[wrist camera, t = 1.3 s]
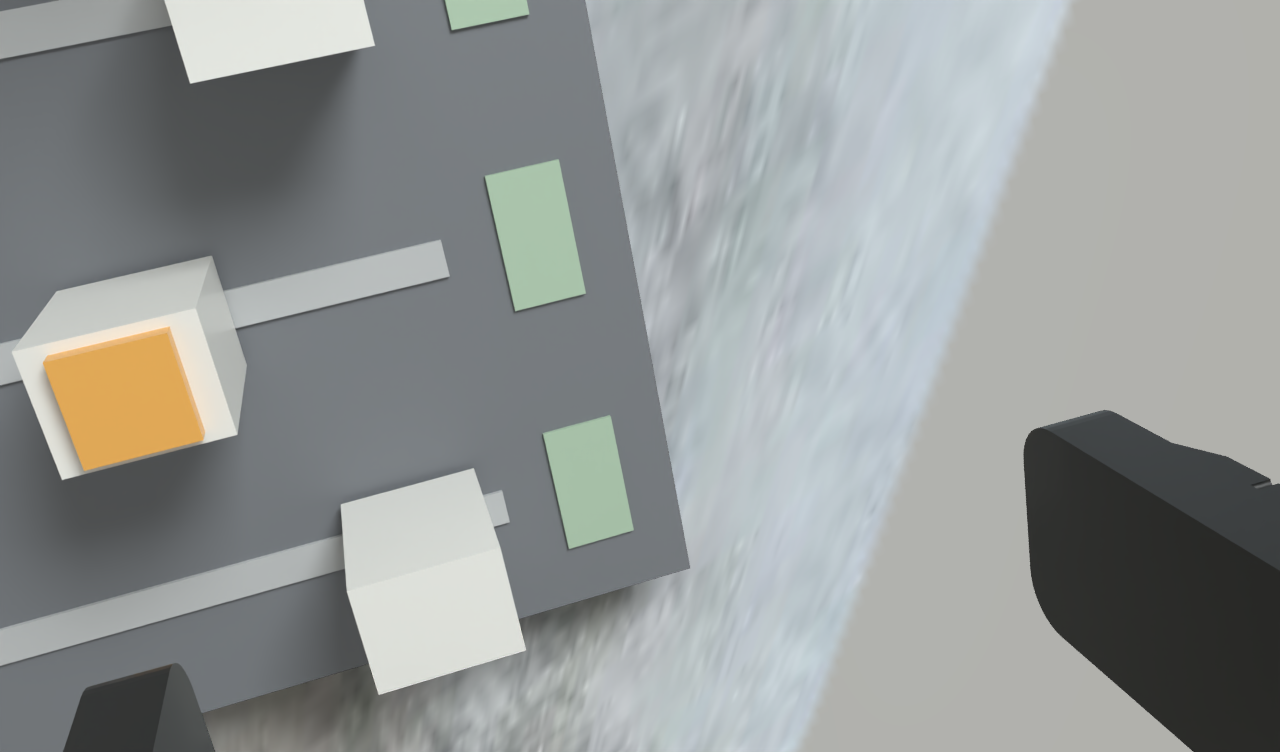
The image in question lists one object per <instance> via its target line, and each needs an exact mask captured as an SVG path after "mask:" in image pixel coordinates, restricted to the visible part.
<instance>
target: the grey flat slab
mask: <svg viewBox="0 0 1280 752" xmlns="http://www.w3.org/2000/svg"><path fill="white" fill-rule="evenodd" d="M364 4H365V8H366V12H367V16H368V20H369V24H370V28H371V32H372V36H373V40H374V44H375V46H371V47H366V48H361V49H357V50H352V51H347V52H342V53H337V54H332V55H327V56H322V57H318V58H313V59H308V60H303V61H298V62H293V63H288V64H283V65H279V66H274V67H269V68H264V69H259V70H254V71H249V72H244V73H239V74H235V75H230V76H225V77H220V78H215V79H210V80H205V81H200V82H196V83H191V84H190V82H189V78H188V75H187V72H186V69H185V65H184V62H183V59H182V56H181V52H180V49H179V46H178V43H177V39H176V36H175V33H174V30H173V27H172V23H171V20H170V17H169V14H168V10H167V7H166V4H165V1H164V0H0V752H63V750H64V747H65V744H66V741H67V738H68V735H69V732H70V729H71V726H72V723H73V720H74V717H75V714H76V711H77V707H78V704H79V701H80V698H81V696H82V693H83V691H84V690H85V689H86V688H87V687H89V686H93V685H96V684H100V683H104V682H107V681H111V680H115V679H118V678H122V677H126V676H129V675H133V674H137V673H140V672H144V671H147V670H151V669H155V668H158V667H162V666H166V665H169V664H173V663H178V664H179V665H181V666H182V668H183V669H184V671H185V672H186V674H187V676H188V678H189V680H190V682H191V685H192V688H193V690H194V693H195V696H196V699H197V702H198V704H199V707H200V710H201V713H204V712H208V711H211V710H214V709H218V708H221V707H224V706H228V705H231V704H235V703H238V702H241V701H245V700H248V699H251V698H255V697H258V696H262V695H265V694H268V693H272V692H275V691H278V690H282V689H285V688H288V687H292V686H295V685H299V684H302V683H305V682H309V681H312V680H315V679H319V678H322V677H326V676H329V675H332V674H336V673H339V672H342V671H346V670H349V669H352V668H356V667H359V666H363V665H366V664H369V662H368V659H367V655H366V652H365V649H364V646H363V642H362V639H361V636H360V633H359V630H358V626H357V623H356V620H355V617H354V613H353V610H352V607H351V604H350V600H349V597H348V594H347V588H346V574H345V559H344V545H343V531H342V517H341V504H344V503H347V502H351V501H355V500H358V499H362V498H366V497H369V496H373V495H377V494H380V493H384V492H388V491H392V490H395V489H399V488H403V487H406V486H410V485H414V484H417V483H421V482H425V481H428V480H432V479H436V478H439V477H443V476H447V475H450V474H454V473H458V472H461V471H465V470H469V469H472V468H474V470H475V473H476V476H477V479H478V482H479V485H480V488H481V491H482V494H483V497H484V500H485V503H486V506H487V509H488V512H489V515H490V518H491V521H492V524H493V527H494V530H495V533H496V536H497V539H498V542H499V545H500V548H501V552H502V556H503V560H504V564H505V568H506V572H507V576H508V580H509V584H510V588H511V592H512V596H513V600H514V604H515V608H516V612H517V616H518V619H521V618H524V617H528V616H531V615H534V614H538V613H541V612H544V611H548V610H551V609H555V608H558V607H561V606H565V605H568V604H571V603H575V602H578V601H581V600H585V599H588V598H592V597H595V596H598V595H602V594H605V593H608V592H612V591H615V590H619V589H622V588H625V587H629V586H632V585H635V584H639V583H642V582H645V581H649V580H652V579H656V578H659V577H662V576H666V575H669V574H672V573H676V572H679V571H682V570H686V569H689V568H690V565H689V559H688V554H687V549H686V543H685V538H684V532H683V527H682V522H681V516H680V511H679V505H678V500H677V495H676V489H675V484H674V478H673V473H672V468H671V462H670V457H669V451H668V446H667V441H666V435H665V430H664V424H663V419H662V414H661V408H660V403H659V397H658V392H657V387H656V381H655V376H654V370H653V365H652V359H651V354H650V349H649V343H648V338H647V332H646V327H645V322H644V316H643V311H642V305H641V300H640V295H639V289H638V284H637V278H636V273H635V268H634V262H633V257H632V251H631V246H630V241H629V235H628V230H627V224H626V219H625V214H624V208H623V203H622V197H621V192H620V187H619V181H618V176H617V170H616V165H615V160H614V154H613V149H612V143H611V138H610V133H609V127H608V122H607V116H606V111H605V106H604V100H603V95H602V89H601V84H600V79H599V73H598V68H597V62H596V57H595V52H594V46H593V41H592V35H591V30H590V24H589V19H588V14H587V8H586V3H585V0H364ZM207 256H212V257H213V260H214V264H215V267H216V270H217V273H218V276H219V279H220V282H221V286H222V289H223V292H224V295H225V298H226V301H227V304H228V308H229V311H230V314H231V317H232V320H233V323H234V326H235V330H236V333H237V336H238V339H239V342H240V345H241V348H242V352H243V355H244V358H245V361H246V364H247V368H246V376H245V383H244V390H243V398H242V405H241V412H240V420H239V427H238V434H237V435H235V436H231V437H227V438H223V439H219V440H215V441H211V442H208V443H204V444H200V445H196V446H192V447H188V448H184V449H180V450H176V451H173V452H169V453H165V454H161V455H157V456H153V457H149V458H145V459H142V460H138V461H134V462H130V463H126V464H122V465H118V466H114V467H111V468H107V469H103V470H99V471H95V472H91V473H87V474H83V475H79V476H76V477H72V478H68V479H64V480H62V479H61V476H60V474H59V471H58V469H57V466H56V463H55V461H54V458H53V456H52V453H51V451H50V448H49V446H48V443H47V441H46V438H45V436H44V433H43V430H42V428H41V425H40V423H39V420H38V418H37V415H36V413H35V410H34V408H33V405H32V403H31V400H30V397H29V395H28V392H27V390H26V387H25V385H24V382H23V380H22V377H21V375H20V372H19V370H18V367H17V364H16V362H15V359H14V357H13V354H12V351H13V349H14V348H15V347H16V345H17V344H18V343H19V341H20V340H21V339H22V337H23V336H24V335H25V333H26V332H27V330H28V329H29V328H30V326H31V325H32V324H33V322H34V321H35V320H36V318H37V317H38V316H39V314H40V313H41V312H42V310H43V309H44V308H45V306H46V305H47V303H48V302H49V301H50V299H51V298H52V297H53V295H54V294H55V293H56V291H60V290H64V289H68V288H73V287H77V286H81V285H86V284H90V283H95V282H99V281H103V280H108V279H112V278H116V277H121V276H125V275H129V274H134V273H138V272H142V271H147V270H151V269H155V268H160V267H164V266H168V265H173V264H177V263H181V262H186V261H190V260H194V259H199V258H203V257H207Z"/></svg>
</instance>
